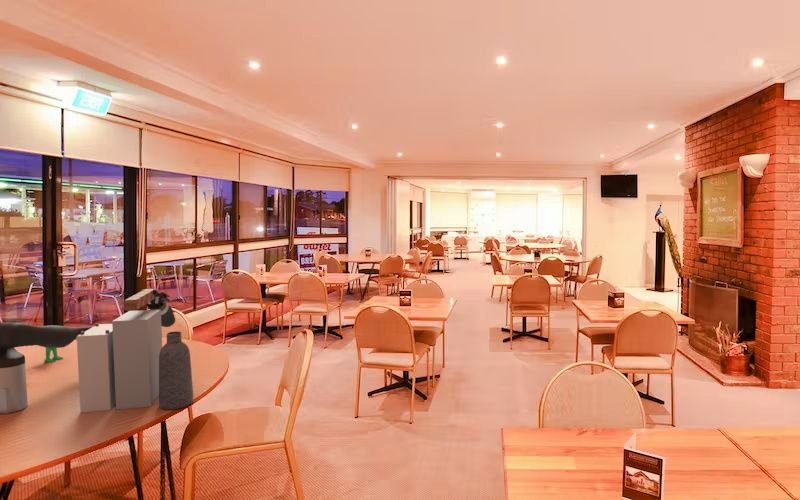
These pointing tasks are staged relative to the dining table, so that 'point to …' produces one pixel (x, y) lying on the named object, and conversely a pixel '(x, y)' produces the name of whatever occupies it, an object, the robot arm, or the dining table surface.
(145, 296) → the batten
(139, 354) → the stand
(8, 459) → the dining table surface
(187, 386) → the vase
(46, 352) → the toy
